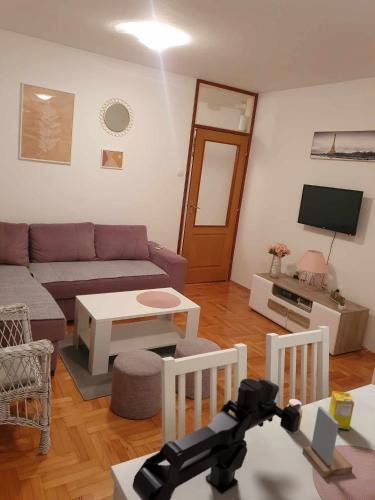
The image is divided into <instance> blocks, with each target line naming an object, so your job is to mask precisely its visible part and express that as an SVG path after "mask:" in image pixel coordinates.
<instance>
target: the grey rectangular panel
mask: <svg viewBox="0 0 375 500" xmlns="http://www.w3.org/2000/svg"><path fill="white" fill-rule="evenodd" d="M314 423H315V424H314V429H313V435H312V439H311V444H310V446H311V449H312V450H313V451H314V452H315V453H316V455H317V456H318V457H319V458H320V459H321V460H322V461H323V463H324V464H325V465H326V466H327V467H331V462H332V457H333V452H334V447H335V446H336V441H337V437H338V431H339V430H338V427H339V423H338V422H337V421H336V420H335V419H334V418H333V417H332V416H331V415H330V414H329V412H328V411H326V410H325V409H324V407H322V406H318V407H317V413H316V418H315V422H314ZM335 448H336V447H335Z"/></svg>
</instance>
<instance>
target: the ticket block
mask: <svg viewBox="0 0 375 500" xmlns="http://www.w3.org/2000/svg"><path fill="white" fill-rule="evenodd" d="M302 454H303V456H304V458H306V459H307V461H308V462H309V464H310V465H312V466H313V468H314V469H315V471H316V472H317V473H318V474H319V475H320V477H321V478H322V479H323V478H329V477H334V476H335V477H336V476H339V475H345V474H349V473H352V471H353V465H352V464H351V463H350V462H349V461H348V460H347V459H346V458H345V456H343V454H342V453H341V452H340V451H339V450H338V449H337V448H336V447H334V452H333V457H332V462H331V467H327V466H326V465H325V464H324V463H323V461H322V460H321V459H320V458H319V457H318V456H317V455H316V453H315V452H314V451H313V450H312V449H311V445H309V446H303V449H302Z"/></svg>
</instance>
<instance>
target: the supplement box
mask: <svg viewBox="0 0 375 500" xmlns="http://www.w3.org/2000/svg"><path fill="white" fill-rule="evenodd" d="M354 405H355V401H354V400H353V398H352V396H351V394H350V392H349V393H348V392H344V391H343V392H342V391H335V390H332V392H331V397H330V401H329V409H328V413H329V414H330V415H331V416H332V417H333V418H334V419H335V420H336V421H337V422H338V423H339V427H338V431H347V432H349V431H350V427H351V423H352V416H353V411H354Z"/></svg>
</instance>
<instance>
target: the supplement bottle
mask: <svg viewBox="0 0 375 500" xmlns="http://www.w3.org/2000/svg"><path fill="white" fill-rule="evenodd" d="M296 404H300V408H299V410H298V411H299V413H300V419H299V425H298V430H297V431H296V432H294V433H293V434H296V433H299V432H300V428H301V423H302V417H303V409H302V402H301V401H300V400H299V399H296V398H291V399H289V401H288V405H287V406H289V405H291V406H294V405H296ZM285 431H287V430H285ZM287 432H288V431H287Z"/></svg>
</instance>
